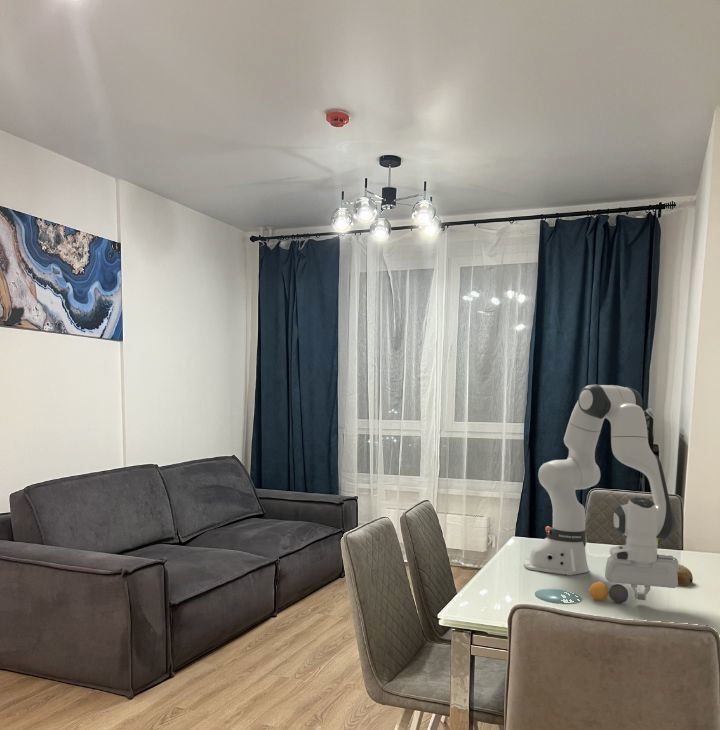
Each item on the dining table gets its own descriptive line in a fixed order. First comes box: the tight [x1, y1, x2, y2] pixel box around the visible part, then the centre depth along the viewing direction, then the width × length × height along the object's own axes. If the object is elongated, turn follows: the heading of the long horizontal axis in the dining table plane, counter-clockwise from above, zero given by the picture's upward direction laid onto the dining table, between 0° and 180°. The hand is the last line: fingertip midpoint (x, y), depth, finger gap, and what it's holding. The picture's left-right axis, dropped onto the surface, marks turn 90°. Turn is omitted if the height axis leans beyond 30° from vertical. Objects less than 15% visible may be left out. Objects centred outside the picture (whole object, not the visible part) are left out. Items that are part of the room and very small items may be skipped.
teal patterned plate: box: [534, 588, 583, 604], centre depth 206 cm, size 14×14×1 cm
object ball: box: [588, 581, 609, 602], centre depth 203 cm, size 6×6×6 cm
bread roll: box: [677, 563, 694, 587], centre depth 225 cm, size 10×10×8 cm
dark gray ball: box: [608, 583, 629, 604], centre depth 201 cm, size 6×6×6 cm
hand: (640, 599), depth 201 cm, fingers closed
